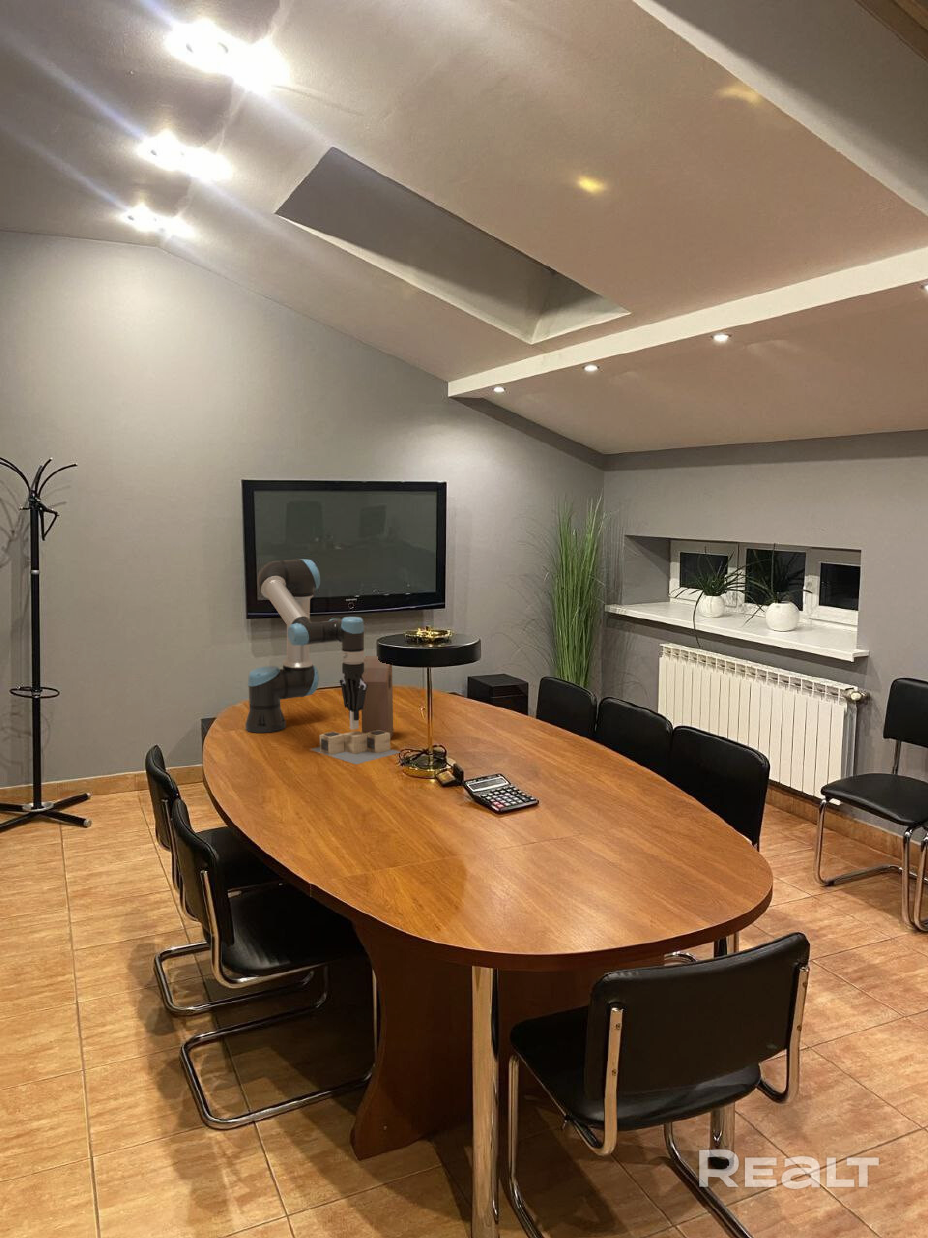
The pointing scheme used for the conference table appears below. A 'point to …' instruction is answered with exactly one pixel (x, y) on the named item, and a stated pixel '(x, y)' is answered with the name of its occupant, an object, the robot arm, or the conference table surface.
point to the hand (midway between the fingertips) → (354, 728)
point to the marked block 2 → (378, 741)
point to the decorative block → (377, 696)
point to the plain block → (355, 742)
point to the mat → (359, 755)
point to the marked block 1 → (331, 743)
